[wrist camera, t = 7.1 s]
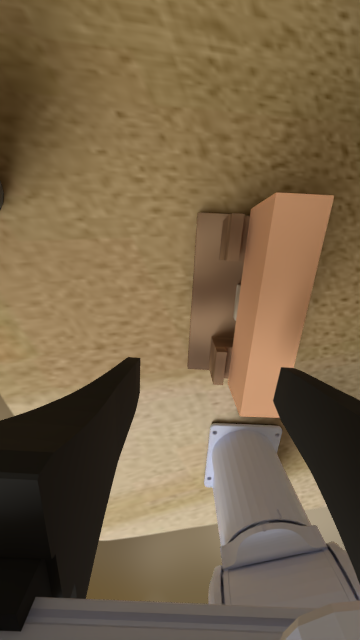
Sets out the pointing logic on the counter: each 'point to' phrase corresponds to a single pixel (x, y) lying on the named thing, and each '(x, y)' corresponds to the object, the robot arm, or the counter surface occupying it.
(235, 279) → the stand
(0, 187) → the beverage cup
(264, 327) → the bar
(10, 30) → the counter surface
